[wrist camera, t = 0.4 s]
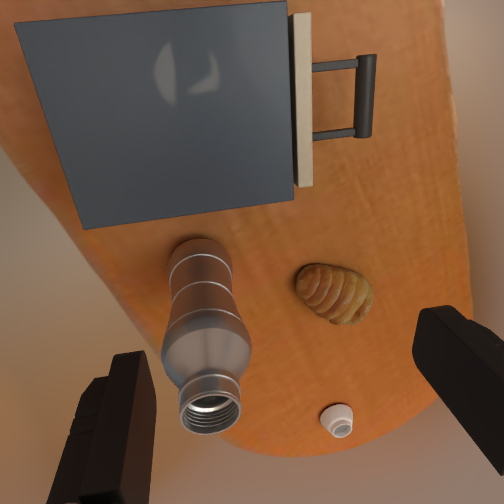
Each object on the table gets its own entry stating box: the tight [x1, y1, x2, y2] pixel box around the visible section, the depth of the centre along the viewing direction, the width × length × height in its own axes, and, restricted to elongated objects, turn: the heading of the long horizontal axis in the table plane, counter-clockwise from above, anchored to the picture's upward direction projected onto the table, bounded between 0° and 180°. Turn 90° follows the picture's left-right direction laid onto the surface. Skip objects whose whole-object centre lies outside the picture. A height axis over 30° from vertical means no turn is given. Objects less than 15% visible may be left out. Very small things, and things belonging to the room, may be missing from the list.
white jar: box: [320, 404, 353, 438], centre depth 53 cm, size 5×3×5 cm
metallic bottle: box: [161, 238, 252, 435], centre depth 30 cm, size 6×7×20 cm
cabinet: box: [14, 0, 294, 230], centre depth 28 cm, size 16×13×9 cm
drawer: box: [288, 12, 377, 188], centre depth 28 cm, size 20×12×8 cm, turn 95°
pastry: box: [296, 264, 373, 325], centre depth 42 cm, size 9×7×4 cm
